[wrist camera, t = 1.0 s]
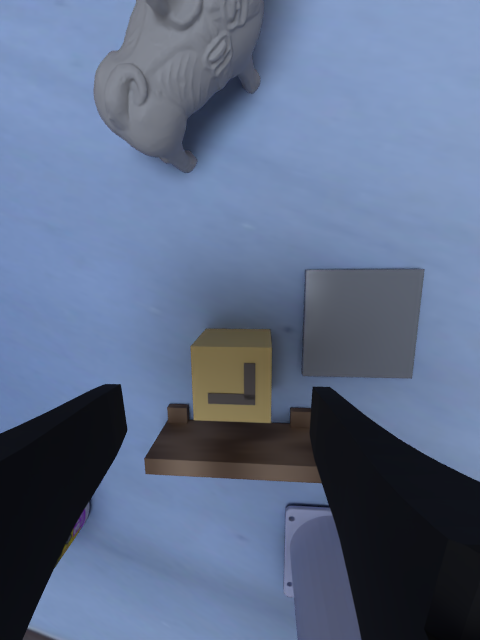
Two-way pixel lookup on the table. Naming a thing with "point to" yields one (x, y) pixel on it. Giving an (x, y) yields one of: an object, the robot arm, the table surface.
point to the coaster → (361, 322)
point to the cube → (232, 375)
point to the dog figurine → (175, 70)
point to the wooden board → (234, 448)
